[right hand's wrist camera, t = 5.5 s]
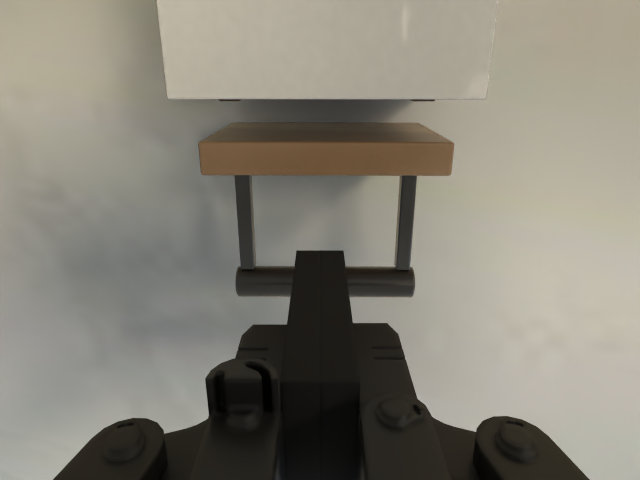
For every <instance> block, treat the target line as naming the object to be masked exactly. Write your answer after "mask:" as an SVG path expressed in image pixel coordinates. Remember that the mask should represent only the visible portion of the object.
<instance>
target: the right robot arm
mask: <svg viewBox="0 0 640 480" xmlns="http://www.w3.org/2000/svg"><path fill="white" fill-rule="evenodd" d="M205 380H206V389H207V399H208V408H209V417H208V419H207V420H205V421H203V422H202V423H200V424H198V425H196V426H193V427H189V428H186V429H183V430H179V431H175V432H170V433H166V434H164V431H163V429H162V428H161V427H160V425H159V424H158V423H157V422H154V421H152V420H149V419H145V418H132V419H127V420H123V421H119V422H116V423H114V424H112V425H110V426H108V427H106V428H104V429H103V430H102V431H100V432H99V433H98V434H97V435H95V436H94V437H93V438H92V439H91V440H90V441H89V442H88V443H87V444H86V445H85V446H84V447H83V448H82V449H81V450H80V452H79V453H78V454H77V455H76V456H75V457H74V458H73V459H72V460H71V461H70V462H69V463H68V464H67V465H66V466H65V468H64V469H63V470H62V471H61V472H60V473H59V474H58V475H57V476H56V477H55V478H54V479H53V480H589V479H588V478H587V477H586V476H585V474H584V473H583V472H582V471H581V470H580V469H579V468H578V467H577V466H576V465H575V464H574V463H573V462H572V461H571V460H570V459H569V458H568V456H567V455H566V454H565V453H564V452H563V451H562V450H561V449H560V448H559V447H558V446H557V445H556V444H555V443H554V442H553V441H552V440H551V438H550V437H549V436H547V435H546V434H545V433H544V432H543V431H541V430H540V429H539V428H538V427H536V426H534V425H532V424H530V423H528V422H526V421H524V420H521V419H517V418H513V417H508V416H499V417H491V418H489V419H486V420H484V421H482V423H481V424H480V425H479V426H478V428H477V431H476V432H473V431H469V430H465V429H461V428H457V427H453V426H450V425H447V424H444V423H442V422H440V421H438V420H436V419H434V418H433V417H432V416H431V414H430V412H429V411H428V409H427V407H426V406H425V405H424V404H423V403H422V402H420V401H419V400H418V399H417V396H416V393H415V390H414V386H413V383H412V380H411V376H410V373H409V369H408V366H407V363H406V360H405V356H404V352H403V349H402V346H401V342H400V339H399V336H398V334H397V333H396V332H395V331H394V330H393V329H392V328H391V327H390V326H389V325H388V324H387V323H353V322H352V314H351V307H350V299H349V291H348V283H347V276H346V268H345V260H344V252H343V251H297V252H296V260H295V268H294V276H293V283H292V291H291V299H290V307H289V314H288V322H287V325H252V326H251V327H250V328H249V329H248V330H247V331H246V332H245V333H244V334H243V335H242V337H241V341H240V344H239V348H238V351H237V354H236V358H235V359H232V360H229V361H226V362H223V363H221V364H219V365H218V366H216V367H215V368H214V369H212V370H211V371H210V373H209V374H208V376H207V377H206V379H205Z"/></svg>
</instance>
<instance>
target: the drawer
mask: <svg viewBox="0 0 640 480" xmlns="http://www.w3.org/2000/svg"><path fill="white" fill-rule="evenodd" d="M218 100H219V101H240V100H243V99H218ZM408 100H411V101H435V99H408ZM198 145H199V156H200V167H201V174H202V175H235V188H236V203H237V218H238V233H239V248H240V263H241V266H239V267H238V269H237V272H236V292H237V295H238V296H258V297H291V291H292V283H293V276H294V268H295V266H256V251H255V233H254V214H253V195H252V177H251V175H370V176H400V183H399V199H398V215H397V231H396V247H395V263H394V265H395V267H347V266H345V268H346V276H347V283H348V291H349V297H412V296H413V294H414V290H415V275H414V270H413V268H412V267H410V260H411V247H412V234H413V220H414V207H415V194H416V181H417V176H449V175H451V170H452V160H453V151H454V143H453V142H451V141H450V140H448V139H446V138H444V137H442V136H441V135H439V134H437V133H435V132H434V131H432V130H430V129H428V128H427V127H425V126H423V125H421V124H419V123H232V124H230V125H228V126H226V127H225V128H223V129H221V130H219V131H218V132H216V133H214V134H213V135H211V136H209V137H207V138H206V139H204V140H202V141H200V142H199V144H198Z"/></svg>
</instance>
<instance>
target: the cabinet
mask: <svg viewBox="0 0 640 480" xmlns="http://www.w3.org/2000/svg"><path fill="white" fill-rule="evenodd" d="M156 3H157V12H158V21H159V30H160V38H161V47H162V56H163V65H164V74H165V83H166V92H167V98H168V99H486V97H487V89H488V80H489V72H490V64H491V56H492V48H493V40H494V32H495V24H496V16H497V7H498V0H156Z"/></svg>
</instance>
